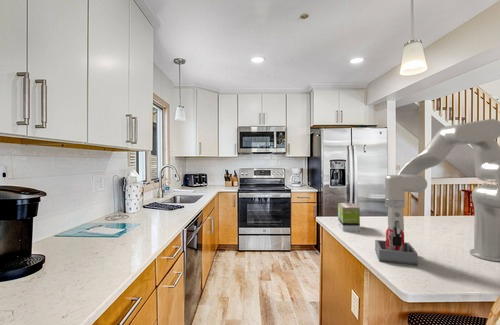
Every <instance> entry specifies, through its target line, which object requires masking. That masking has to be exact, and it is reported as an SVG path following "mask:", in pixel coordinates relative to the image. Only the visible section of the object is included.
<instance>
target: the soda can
mask: <svg viewBox="0 0 500 325" xmlns="http://www.w3.org/2000/svg"><path fill="white" fill-rule="evenodd" d="M400 231H401V230H400ZM395 232H396V231H395ZM385 241H386V250H395V251H404V242H405V231H401V246H393V231H392V230H391V229H390V227H389V226H387V229H386V230H385Z"/></svg>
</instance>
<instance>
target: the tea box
mask: <svg viewBox="0 0 500 325" xmlns="http://www.w3.org/2000/svg"><path fill="white" fill-rule="evenodd" d="M360 213H361V211H360V207H359V206H358V205H357V204H355V203H354V202H338V203H337V217H338V218H337V221H338V226H339V227H340V229H341V230H342V232H354V233H355V232H356V233H358V232H361V225H360V224H361V219H360V218H361V217H360V216H361V215H360Z"/></svg>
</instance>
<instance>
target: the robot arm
mask: <svg viewBox="0 0 500 325" xmlns="http://www.w3.org/2000/svg"><path fill="white" fill-rule="evenodd" d="M498 138H500V120H498V119H494V118H488V119H483V120H476V121H469V122H466V123H458V124H453V125H447V126H442V127H441V128H440V129H439V130H438V131H437V132H436V133H435V135H434V136H433V138H432V139H431V140H430V142H428V144H427V145H426V146H425V148H424V149H423V150H422V152H420V153H419V154H418V155H416V156H415V157H413V158H412V159H411V160H410V161H408V162H407V163H406V164H404V166H403V167H402V169H401V170H400V171H399V172H398V174H389V175H386V176H385V178H384V190H385V191H384V206H385V208H386V207H387V225H388V226H389V227H390V229H391V230H392V231H393V246H401V231H403V232H405V231H404V230H405V221H404V220H405V219H404V210H403V209H405V207H406V206H405V205H406V204H405V199H406V198H405V194H406V192H408V193H421V192H423V191H425V190H426V189H427V187H428V181H427V179H425V177H424V176H421V175H420V174H421V173H422V172H424V171H425V170H427V169H430V168H434V167H436V166H439V165H440V164H442V163H443V162H444V161H445V160H446V158H447V156H449V154H450V153H451V152H452V150H454V148H455V146H457V145H458V146H460V145H461V146H462V145H463V146H464V145H469V146H470V147H471V148H472V149H473V154H474V173H475V174H474V175H475V176H476V178H477V179H478V180H480V181H483V182H486V183H487V182H489V183H497V185H496V184H486V183H485V184H480V185H476V186H475V187H474V188H473V189H472V191H471V199H472V203H473V208H474V210H473V211H474V223H473V224H474V225H473V226H474V229H473V230H474V235H473V236H474V239H473V242H474V246H473V247H474V248H472V249H470V250H469V253H470V255H471V256H473V257H476V258H478V259H482V260H486V261H490V262H491V261H492V262H500V145H499V143H498V142H497V141H496V139H498ZM388 226H387V227H388ZM400 230H401V231H400ZM395 231H396V232H395Z"/></svg>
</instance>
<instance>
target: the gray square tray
mask: <svg viewBox="0 0 500 325" xmlns="http://www.w3.org/2000/svg"><path fill="white" fill-rule="evenodd" d="M374 241H375V242H374V251H375V254H376V256H377V257H376V258H377V259H378V262H379V263H391V264H398V265H408V266H416V267H418V252H417V251H416V250H415V248H414V247H413V245H411V243H410V242H406V241H404V251H395V250H386V240H382V239H375V240H374Z"/></svg>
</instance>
